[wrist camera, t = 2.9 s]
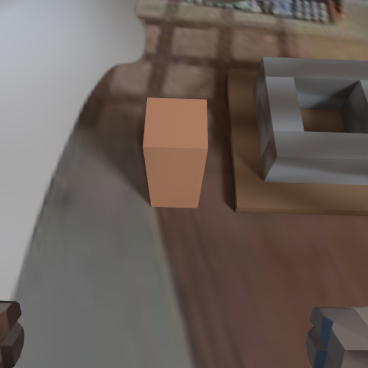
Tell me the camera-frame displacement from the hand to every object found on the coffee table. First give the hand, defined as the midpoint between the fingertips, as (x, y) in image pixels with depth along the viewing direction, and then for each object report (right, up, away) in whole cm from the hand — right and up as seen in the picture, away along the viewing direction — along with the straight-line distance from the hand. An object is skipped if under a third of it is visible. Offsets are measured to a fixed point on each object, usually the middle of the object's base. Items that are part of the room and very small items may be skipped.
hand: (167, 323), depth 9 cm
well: (+13, +8, +22) cm, 27 cm away
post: (0, +4, +20) cm, 20 cm away
